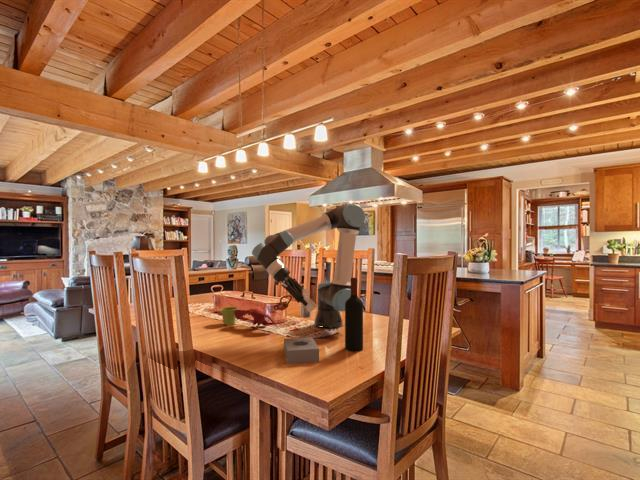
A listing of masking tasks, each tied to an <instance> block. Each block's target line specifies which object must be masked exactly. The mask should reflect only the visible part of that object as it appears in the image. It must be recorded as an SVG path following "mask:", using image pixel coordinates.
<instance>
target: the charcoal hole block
mask: <svg viewBox="0 0 640 480" xmlns="http://www.w3.org/2000/svg"><path fill="white" fill-rule="evenodd" d="M283 353H284V356H285V361H286V364H287V365H292V364H293V365H295V364H308V363H309V364H310V363H311V364H312V363H320V347H319V346H318V344H317V343H316V341H315V339H314V338H313V337H312V336H311V337H309V336H308V337H292V338H291V337H290V338H288V337H287V338H283Z"/></svg>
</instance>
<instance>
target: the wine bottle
mask: <svg viewBox="0 0 640 480" xmlns="http://www.w3.org/2000/svg"><path fill="white" fill-rule="evenodd" d="M358 296H359V295H358V277H351V296H350V298H349V299H348V300H347V301H346V302H345V311H344V323H345V324H344V349H345V350H346V351H349V352H353V353H354V352H361V351H363V350H364V303H363V301H362V300H361V298H359V297H358Z"/></svg>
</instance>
